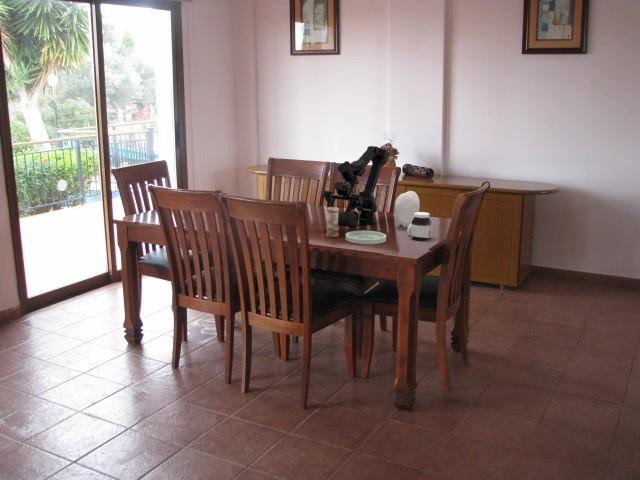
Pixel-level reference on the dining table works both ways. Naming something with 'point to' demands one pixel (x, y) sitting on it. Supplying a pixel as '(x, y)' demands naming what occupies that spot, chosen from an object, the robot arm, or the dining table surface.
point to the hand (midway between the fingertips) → (336, 212)
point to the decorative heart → (406, 207)
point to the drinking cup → (349, 218)
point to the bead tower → (332, 222)
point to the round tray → (365, 237)
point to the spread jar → (420, 226)
